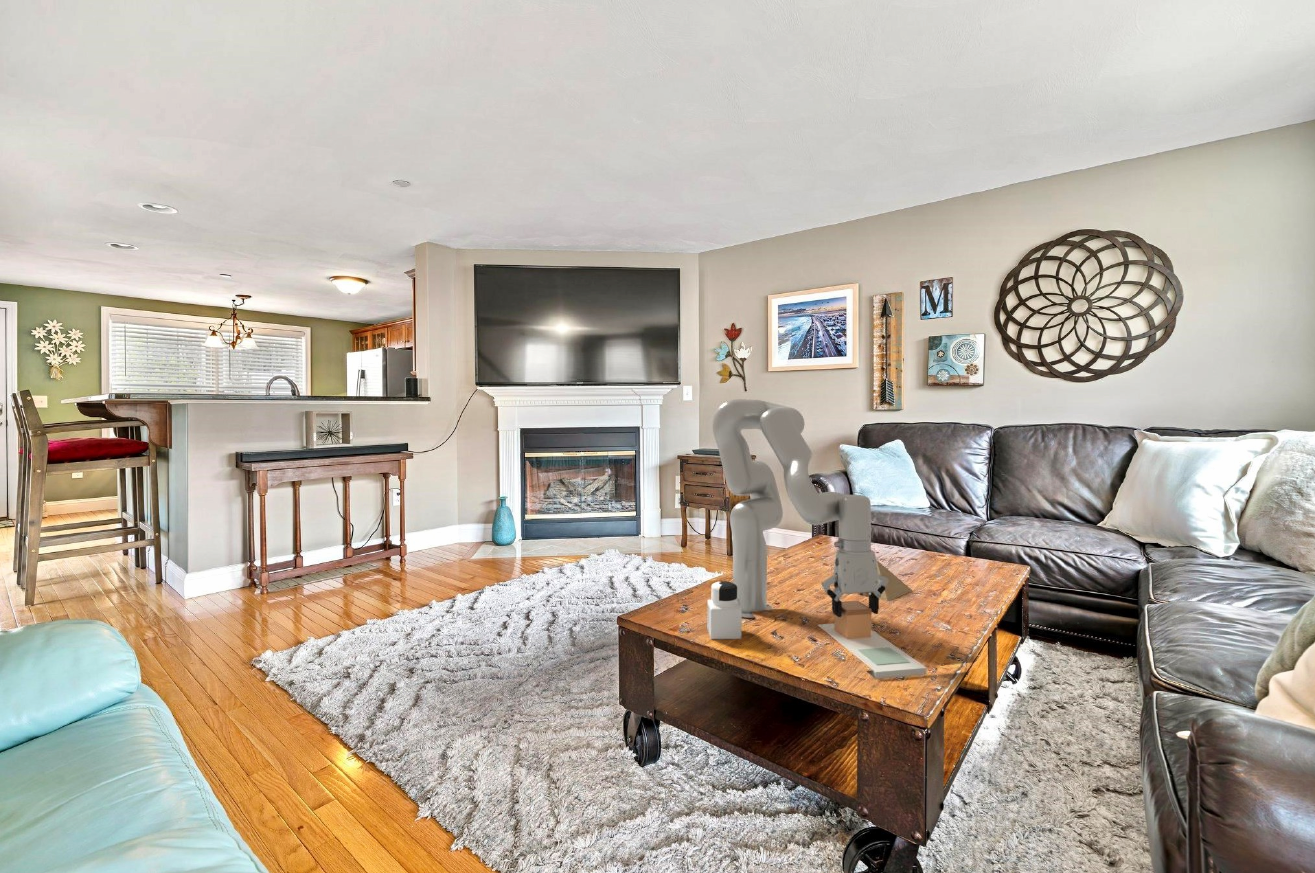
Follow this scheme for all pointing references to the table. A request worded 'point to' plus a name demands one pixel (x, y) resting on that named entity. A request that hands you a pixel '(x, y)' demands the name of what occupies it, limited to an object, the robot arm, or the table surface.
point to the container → (724, 612)
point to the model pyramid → (890, 585)
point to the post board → (878, 655)
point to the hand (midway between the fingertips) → (855, 613)
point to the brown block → (854, 620)
